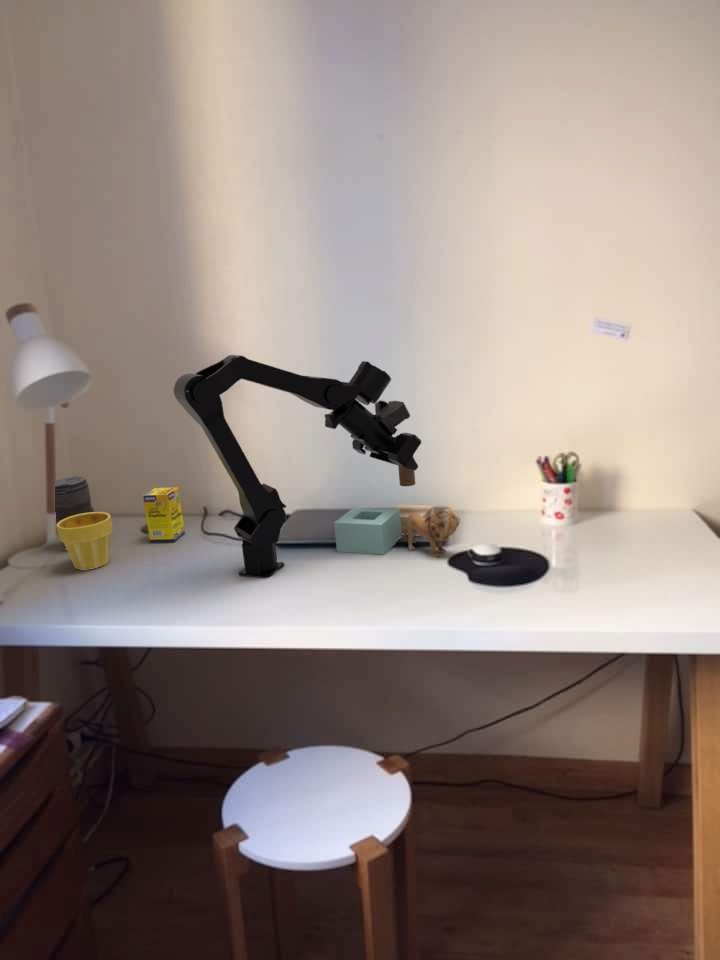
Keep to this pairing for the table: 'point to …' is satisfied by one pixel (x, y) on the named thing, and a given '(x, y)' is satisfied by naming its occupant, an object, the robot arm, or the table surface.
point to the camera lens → (71, 498)
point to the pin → (406, 476)
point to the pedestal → (413, 512)
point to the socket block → (368, 530)
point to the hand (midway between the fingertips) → (411, 467)
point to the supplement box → (163, 515)
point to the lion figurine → (431, 529)
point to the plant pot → (86, 538)
